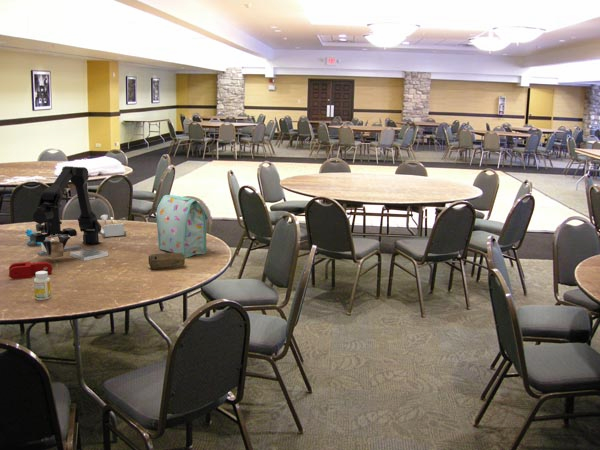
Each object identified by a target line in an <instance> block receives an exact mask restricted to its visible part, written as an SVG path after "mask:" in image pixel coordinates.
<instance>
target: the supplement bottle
mask: <svg viewBox="0 0 600 450" xmlns="http://www.w3.org/2000/svg"><path fill="white" fill-rule="evenodd" d="M35 274H36V276H35V278H34V279H33V288H34V289H33V290H34V298H35V300H37V301H45V300H49V299H50V298H51V297H52V290H51V278H50V277H48V275H49V274H48V272H47V271H38V272H36V273H35Z"/></svg>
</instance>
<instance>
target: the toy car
mask: <svg viewBox="0 0 600 450" xmlns="http://www.w3.org/2000/svg"><path fill="white" fill-rule="evenodd" d="M108 217H109V215H108V214H102V215H101V216H100V217H99V218H100V219H101V220H102V221H103V222H104V225H103V226H101V231H100V232H98V234H101V235H102V238H103V239H105V238H107V237H115V236H116V237H117V236H118V237H119V236H120V237H121V236H124V237H127V231H126V230H125V223H114V224H113V223H111V224H106V223H107V220H108ZM110 220H111V221H113V220H114V217H112V216H110Z"/></svg>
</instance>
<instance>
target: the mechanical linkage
mask: <svg viewBox="0 0 600 450" xmlns="http://www.w3.org/2000/svg"><path fill="white" fill-rule="evenodd" d="M46 268H47V269H46ZM38 271H47V272H48V275H51V273H52V271H53V265H52V263H50V262H48V261H41V262H31V261H25V262H24V261H22V262H15V263H14V262H13V263H11V264H10V265H9V267H8V276H9V278H10V279H12V280H22V279H31V278H32V277H36V274H35V273H36V272H38Z"/></svg>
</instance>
